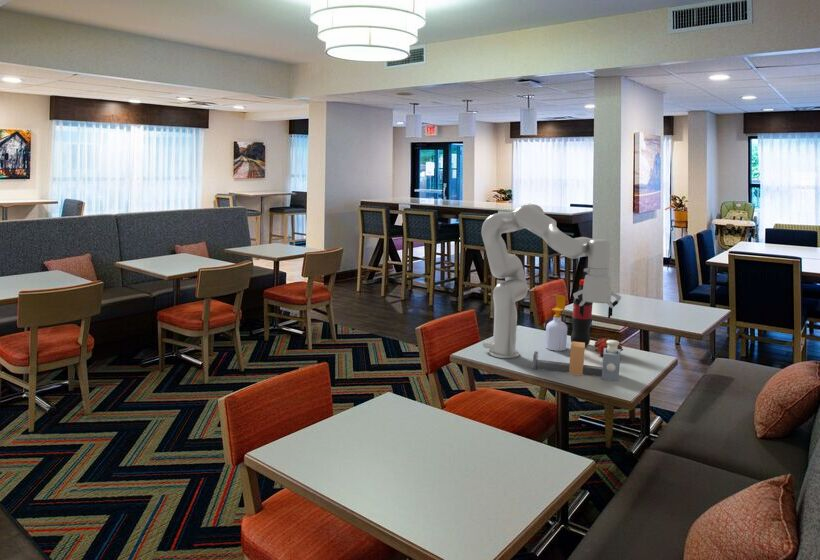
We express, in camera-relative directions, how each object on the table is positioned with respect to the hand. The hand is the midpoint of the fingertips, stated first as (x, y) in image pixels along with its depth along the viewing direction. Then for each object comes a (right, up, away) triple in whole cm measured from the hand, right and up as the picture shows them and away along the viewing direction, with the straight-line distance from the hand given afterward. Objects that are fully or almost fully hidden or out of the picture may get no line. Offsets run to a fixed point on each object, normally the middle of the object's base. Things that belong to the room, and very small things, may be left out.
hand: (595, 316), depth 225 cm
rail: (-9, -22, +7) cm, 25 cm away
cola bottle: (+6, -16, +43) cm, 46 cm away
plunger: (+6, -14, +1) cm, 16 cm away
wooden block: (-6, -22, +6) cm, 24 cm away
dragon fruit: (+14, -19, +28) cm, 36 cm away
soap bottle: (-6, -16, +38) cm, 41 cm away
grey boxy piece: (+6, -23, +2) cm, 24 cm away
